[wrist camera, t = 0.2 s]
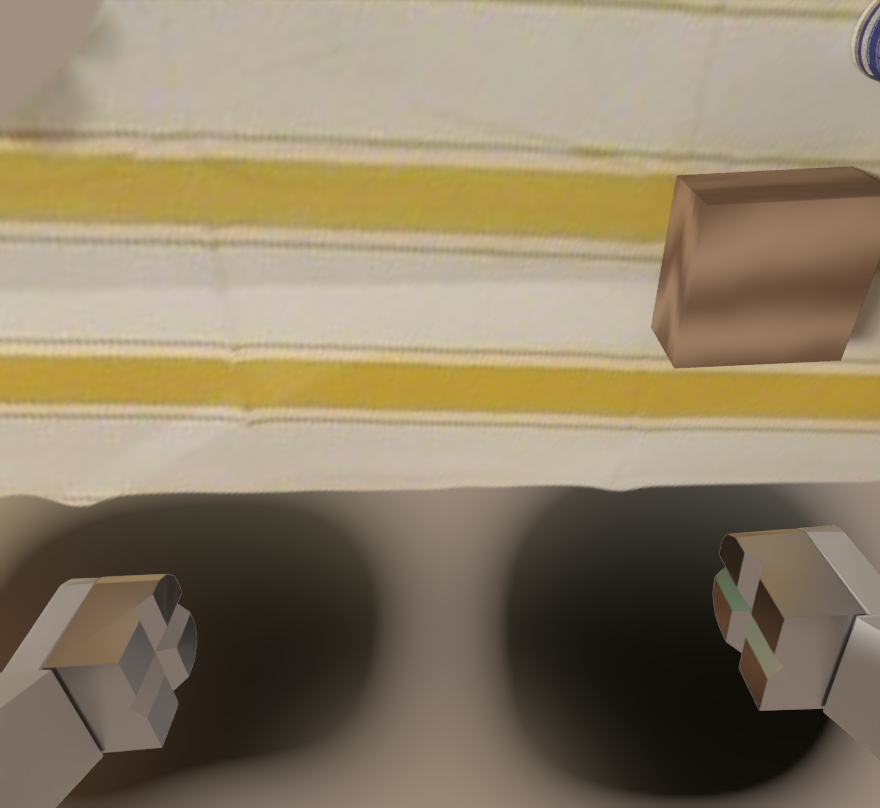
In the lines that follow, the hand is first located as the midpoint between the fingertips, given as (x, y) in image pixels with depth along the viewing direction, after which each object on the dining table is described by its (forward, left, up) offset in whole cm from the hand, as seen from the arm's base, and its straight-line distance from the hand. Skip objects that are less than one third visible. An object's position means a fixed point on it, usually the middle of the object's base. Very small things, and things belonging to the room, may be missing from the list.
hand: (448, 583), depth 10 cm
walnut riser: (+13, +23, -39) cm, 46 cm away
